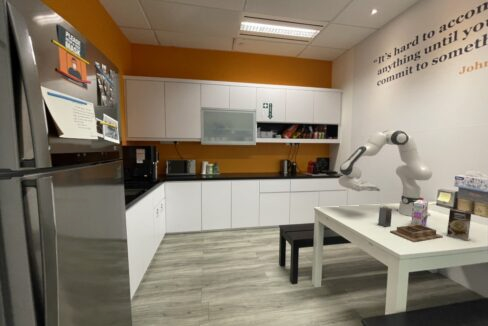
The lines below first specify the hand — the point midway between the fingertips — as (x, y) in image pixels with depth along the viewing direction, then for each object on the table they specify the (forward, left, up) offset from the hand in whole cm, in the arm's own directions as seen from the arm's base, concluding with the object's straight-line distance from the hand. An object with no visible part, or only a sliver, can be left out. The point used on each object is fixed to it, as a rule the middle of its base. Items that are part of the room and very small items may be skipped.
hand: (375, 190), depth 152 cm
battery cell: (+1, +9, -22) cm, 24 cm away
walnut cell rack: (-4, +26, -22) cm, 35 cm away
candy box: (-23, +15, -23) cm, 36 cm away
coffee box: (-25, +35, -23) cm, 49 cm away
